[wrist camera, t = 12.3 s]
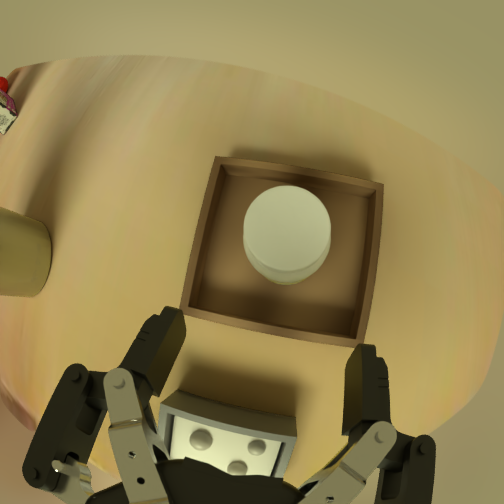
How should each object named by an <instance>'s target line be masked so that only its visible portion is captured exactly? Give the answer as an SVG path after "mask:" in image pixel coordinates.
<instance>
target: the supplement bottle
mask: <svg viewBox="0 0 504 504" xmlns="http://www.w3.org/2000/svg"><path fill="white" fill-rule="evenodd" d="M243 230H244V234H243V243H244V249H245V252H246V255H247V258H248V259H249V261H250V263H251V264H252V266H253V267H254V268H255V269H256V270H257V271H258V272H259V273H260V274H262V275H263V276H264V277H265V278H267V279H268V280H270V281H272V282H274V283H276V284H280V285H293V284H297V283H299V282H301V281H303V280H305V279H306V278H308V277H309V276H311V275H312V274H313V273H315V272H316V271H317V270H318V269H319V268H320V266H321V265H322V264H323V262H324V260H325V259H326V257H327V254H328V252H329V249H330V244H331V223H330V218H329V215H328V212H327V210H326V208H325V206H324V205H323V203H322V202H321V201H320V200H319V199H318V198H317V197H316V196H315V195H314V194H312V193H311V192H309V191H307V190H305V189H303V188H300V187H296V186H278V187H274V188H271V189H268V190H266V191H265V192H263V193H261V194H260V195H259V196H258V197H257V198H256V199H255V200H254V201H253V202H252V203H251V205H250V206H249V208H248V210H247V212H246V215H245V219H244V226H243Z"/></svg>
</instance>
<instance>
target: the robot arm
mask: <svg viewBox="0 0 504 504" xmlns="http://www.w3.org/2000/svg"><path fill="white" fill-rule="evenodd" d="M50 262H51V241H50V237H49V233H48V231H47V228H46V227H45V225H44V224H43V223H41V222H40V221H37V220H35V219H32V218H29V217H26V216H24V215H21V214H18V213H16V212H13V211H10V210H8V209H5V208H2V207H0V295H4V296H17V297H33V296H35V295H36V294H38V293H39V292H40V290H41V289H42V288H43V286H44V284H45V282H46V279H47V276H48V272H49V268H50ZM185 337H186V325H185V320H184V315H183V311H182V310H181V309H177V308H173V307H170V306H165V307H164V309H163V310H162V312H161V314H160V316H159V315H156V314H154V315H152V316H151V317H150V318H149V319H147V320H146V321H145V323H144V324H143V326H142V328H141V329H140V332H139V333H138V335H137V336H136V339H135V340H134V341H133V343H132V345H131V347H130V348H129V350H128V352H127V354H126V356H125V357H124V359H123V361H122V363H121V364H120V365H119V367H117V368H115V369H112V370H110V371H109V372H97V371H88V370H87V369H86V367H85V366H84V365H82V364H78V363H77V364H72V365H70V366H69V367H68V368H67V369H66V370H65V372H64V374H63V375H62V377H61V379H60V381H59V383H58V385H57V387H56V389H55V391H54V393H53V395H52V397H51V399H50V401H49V403H48V405H47V408H46V410H45V412H44V414H43V416H42V418H41V421H40V423H39V425H38V428H37V430H36V432H35V435H34V437H33V440H32V442H31V444H30V447H29V450H28V453H27V455H26V458H25V460H24V463H23V467H22V472H23V476H24V478H25V480H26V481H27V482H28V484H29V485H31V486H32V487H35V488H38V489H41V490H44V491H46V492H50V493H52V494H53V495H55V496H56V497H58V498H59V499H61V500H62V501H64V502H65V503H67V504H349V503H350V502H351V501H352V500H353V499H354V498H355V497H356V496H357V495H358V494H359V493H360V492H361V490H362V489H363V488H364V487H365V485H366V480H367V478H368V477H369V476H370V475H371V473H372V472H373V471H374V470H375V469H376V467H377V468H380V473H379V480H378V487H377V492H376V497H375V503H374V504H431V501H432V493H433V484H434V474H435V457H436V456H435V455H436V445H435V442H434V440H433V439H432V438H431V437H430V436H428V435H420V436H418V437H416V438H415V437H412V436H409V435H405V434H402V433H400V432H398V431H397V430H396V429H395V428H394V426H393V425H392V423H391V419H390V395H389V380H388V367H387V365H386V363H385V361H384V359H383V358H381V357H377V356H376V347H375V345H370V344H361V343H359V344H358V345H357V346H356V348H355V349H354V351H353V353H352V354H351V356H350V358H349V359H348V361H347V364H346V368H345V386H344V408H343V423H342V435H346V436H349V438H348V442H347V443H346V445H345V446H344V447H343V448H342V449H341V450H340V451H339V452H338V453H337V454H336V455H335V456H334V457H333V458H332V459H331V460H330V461H329V462H328V463H327V464H326V465H325V466H324V467H323V468H322V469H321V470H320V471H318V472H317V473H315V474H314V475H313V476H312V477H310V478H309V479H308V480H307V481H306V482H305V483H303V484H302V485H301V486H300V487H299V488H298V489H297V488H296V487H294V486H293V485H291V484H289V483H287V482H285V481H283V478H279V477H271V476H265V475H231V474H228V473H226V472H224V471H222V470H220V469H218V468H216V467H214V466H212V465H211V464H209V463H205V462H202V461H198V460H195V459H192V458H189V457H186V456H185V458H184V459H170V457H169V454H168V452H167V449H166V447H165V444H164V442H163V440H162V439H161V437H160V434H159V432H158V429H157V426H156V423H155V419H154V416H153V413H152V410H151V406H150V403H149V400H150V398H151V396H152V395H154V396H157V397H159V396H160V394H161V392H162V389H163V387H164V385H165V383H166V380H167V378H168V376H169V374H170V371H171V369H172V367H173V365H174V362H175V360H176V358H177V356H178V354H179V351H180V349H181V347H182V345H183V343H184V340H185ZM107 411H108V412H109V417H110V421H111V426H109V428H108V433H109V438H110V442H111V446H112V449H113V453H114V457H115V460H116V464H117V467H118V470H119V473H120V476H121V479H122V482H120V483H118V484H115V485H113V486H111V487H109V488H107V489H104V490H102V491H99V492H97V493H94V491H93V490H92V487H91V472H90V470H89V468H88V466H86V464H87V462H88V459H89V456H90V453H91V451H92V448H93V445H94V443H95V440H96V438H97V435H98V432H99V430H100V427H101V425H102V422H103V420H104V418H105V415H106V413H107ZM134 457H135V458H134ZM327 501H328V502H327Z"/></svg>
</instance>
